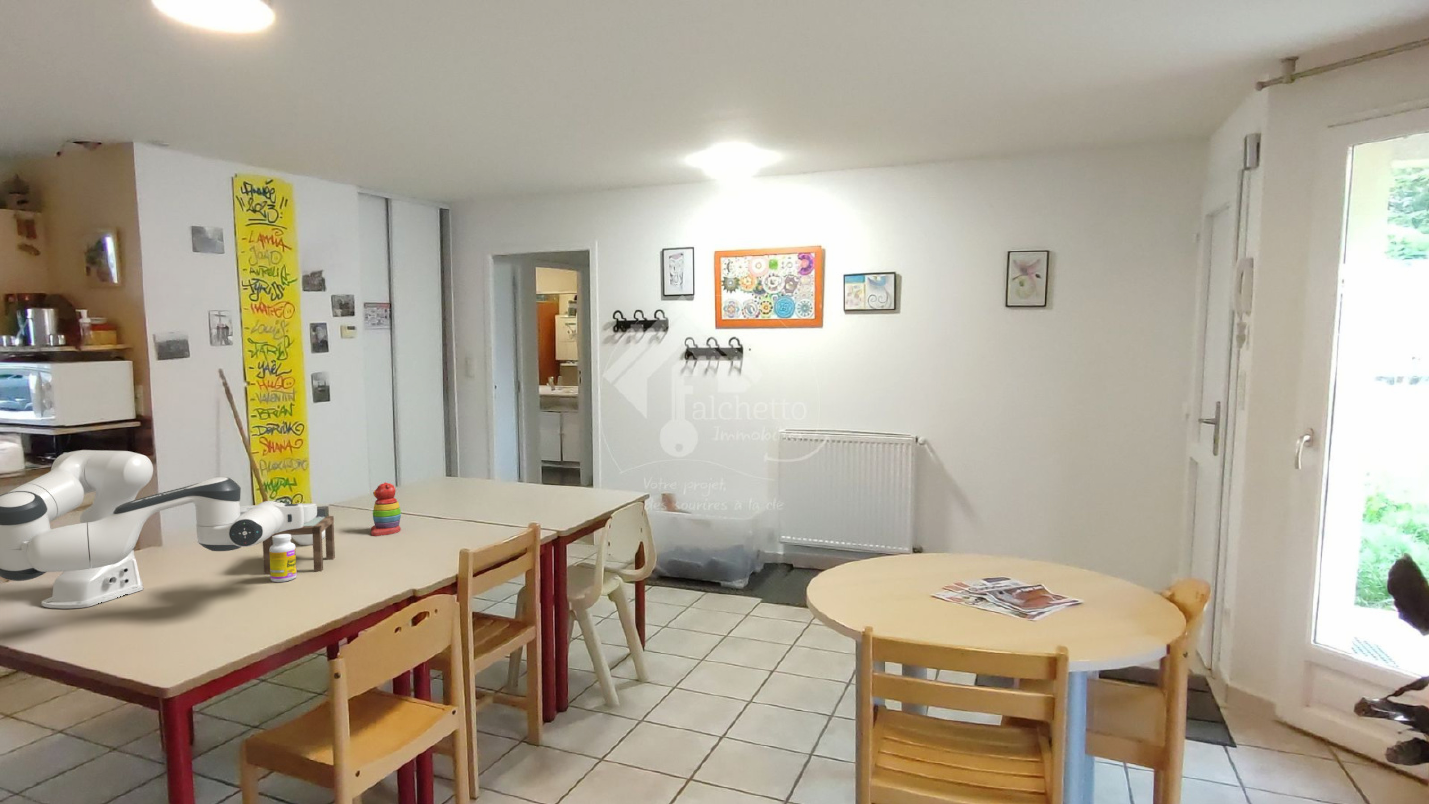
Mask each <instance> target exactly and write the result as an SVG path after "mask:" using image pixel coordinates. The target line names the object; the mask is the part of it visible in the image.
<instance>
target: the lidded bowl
mask: <svg viewBox="0 0 1429 804" xmlns="http://www.w3.org/2000/svg"><path fill="white" fill-rule="evenodd" d="M329 516H331V515H330V514H329ZM291 539H292V540H293V541H294V542H296V543H297V545H299V546H313V534H307V535H291ZM325 539H326V538H325V530H324V531H323V532H322V541H323V540H325Z"/></svg>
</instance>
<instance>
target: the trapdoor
mask: <svg viewBox="0 0 1429 804" xmlns="http://www.w3.org/2000/svg"><path fill="white" fill-rule="evenodd" d="M329 509H330V508H329V506H327V505H326V506H317V516H316V517H315V518H314V519H312V520H311V521H310V522H308V523H305V524H304V526H315V525H316V524H318V523H319V522H320V521H321V520H323V519H324V518H325V517H326V516H329V515H330V513H329V511H330V510H329Z"/></svg>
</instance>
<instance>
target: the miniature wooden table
mask: <svg viewBox="0 0 1429 804" xmlns="http://www.w3.org/2000/svg"><path fill="white" fill-rule="evenodd" d="M334 518H335V517H334V515H330V516H326V517H325V518H324V519H323V520H321V521H320V522H319V523H318V524H316V525H315V526H303V527H302V528H298V529H292V530H286V531H282V532H279V533H275V534H273V535H271V536H270V537H269V538H268V539H266V540H265V541H263V542H262V552H263V553H262V555H263V572H264V573H263V574H264V575H270V554H269V549H270V547H271V546H272V545H274V542H273V536H275V535H280V534H290V535H307V534H313V545H312V552H313V553H312V554H313V555H312V556H313V573H317V572H318V571H320V572H322V571H323V570H324V557H323V556H324V555H323V540H322V532H323V531H324V530H325V538H324V539H325V558H326V559H325V560H327V561H328V560H334V559H335V558H336V554H335V553H336V551H335V549H336V548H335V527H334V526H335V525H334V522H335V520H334ZM318 573H319V572H318Z"/></svg>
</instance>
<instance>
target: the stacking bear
mask: <svg viewBox="0 0 1429 804" xmlns="http://www.w3.org/2000/svg"><path fill="white" fill-rule="evenodd" d="M396 491H397V490H396V487H395V485H393V484H392V483H389V482H386V481H385V482H383V483H380V484H379V485H377V487H376V489H375V490H374V491H373V493H372V494H373V496H374V498H376V500H375V501H374V505H373V510H372V519H373V524H374V525H373V526H371V528H370V531H371V532H370V535H371V536H372V537H380V536H381V535H382V536H387V535H393V534H397V533H400V532H401V531H402V529H401V525H400V522H401V516H402V511H401V507H400V503H399V501H398V500H397V499H396V498H395V497H396ZM382 536H381V537H382Z"/></svg>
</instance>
